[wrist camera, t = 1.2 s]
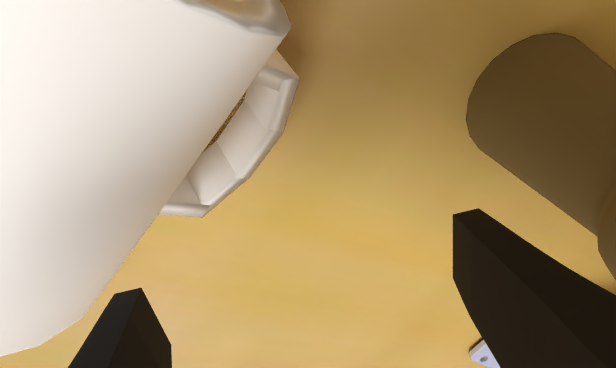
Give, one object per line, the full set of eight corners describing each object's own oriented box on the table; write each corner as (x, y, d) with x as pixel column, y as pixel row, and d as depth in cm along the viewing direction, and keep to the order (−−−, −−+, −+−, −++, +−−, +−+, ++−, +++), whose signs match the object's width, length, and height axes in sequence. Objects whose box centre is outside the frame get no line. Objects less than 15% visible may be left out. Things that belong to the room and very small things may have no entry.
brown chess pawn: (621, 89, 22) (896, 247, 13) (515, 180, 24) (692, 372, 15) (551, 1, 20) (839, 127, 11) (438, 113, 22) (599, 299, 13)
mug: (142, 146, 24) (266, -47, 20) (228, 326, 19) (420, 116, 15) (-295, 64, 14) (-229, -378, 9) (-368, 415, 8) (-292, -216, 4)
